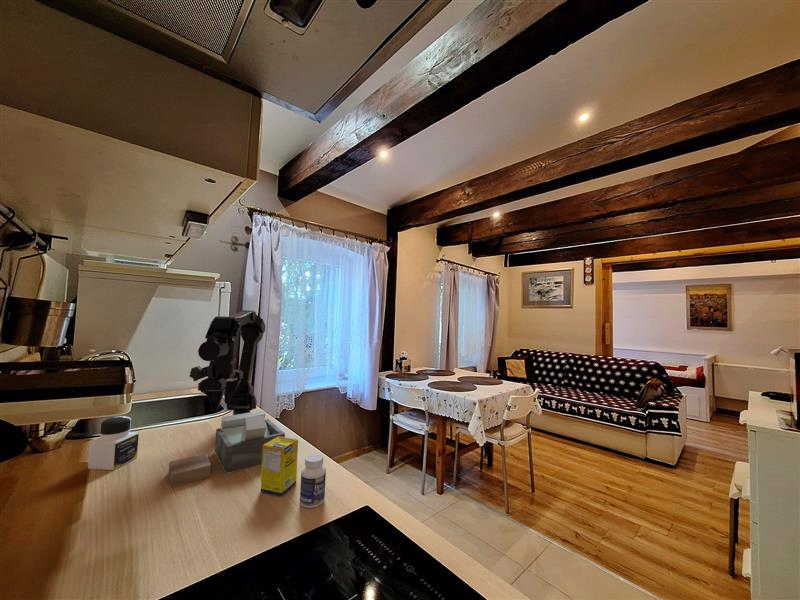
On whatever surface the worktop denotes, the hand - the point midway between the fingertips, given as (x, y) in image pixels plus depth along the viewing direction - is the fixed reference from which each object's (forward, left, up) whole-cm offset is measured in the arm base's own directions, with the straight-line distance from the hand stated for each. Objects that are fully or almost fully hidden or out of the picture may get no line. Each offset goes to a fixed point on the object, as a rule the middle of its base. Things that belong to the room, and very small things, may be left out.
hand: (220, 407), depth 96 cm
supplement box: (+33, +7, -12) cm, 36 cm away
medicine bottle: (-5, -24, -12) cm, 28 cm away
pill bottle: (+43, +11, -12) cm, 46 cm away
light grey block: (+12, +6, -9) cm, 16 cm away
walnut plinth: (+14, -9, -12) cm, 21 cm away
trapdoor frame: (+11, +6, -12) cm, 17 cm away
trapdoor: (+9, +6, -8) cm, 13 cm away
